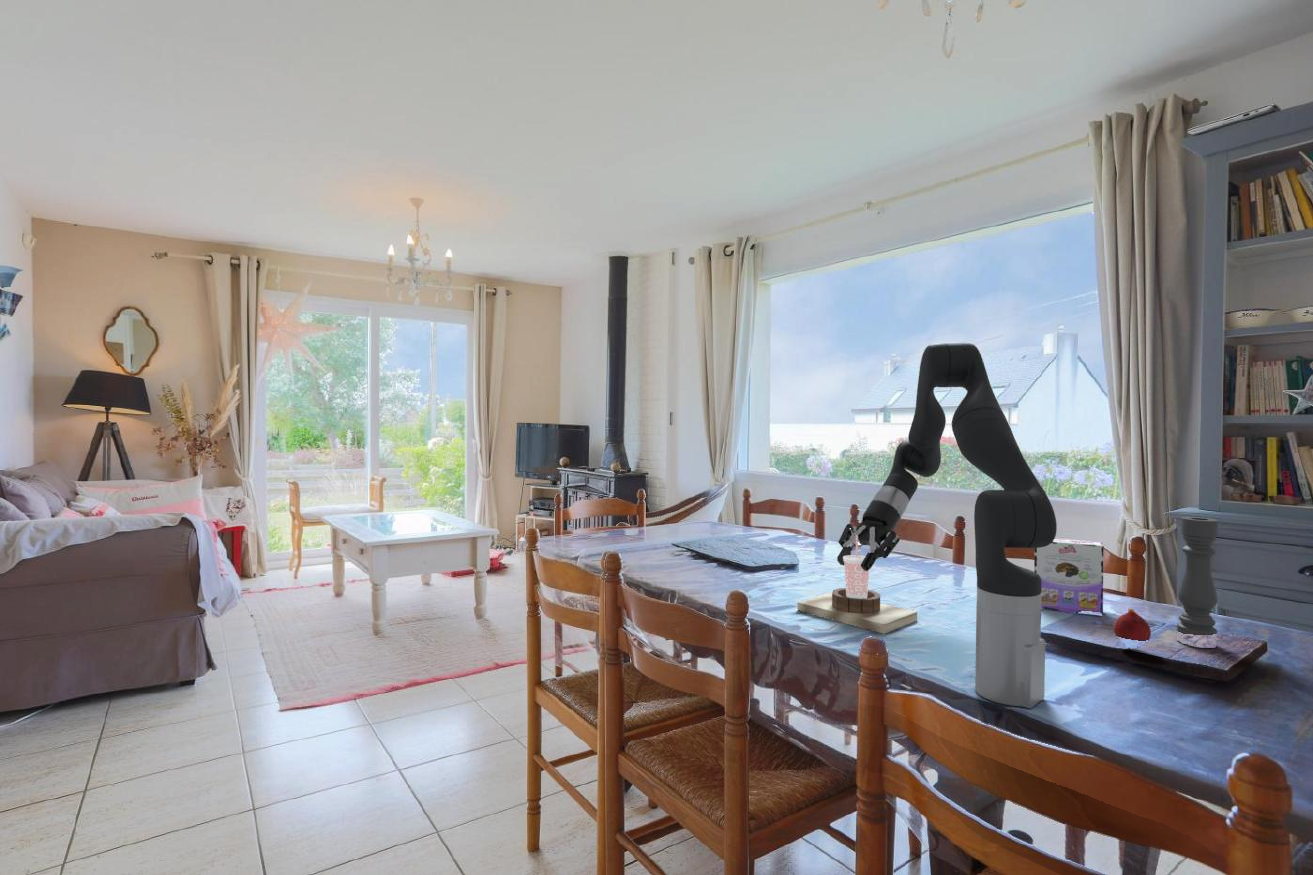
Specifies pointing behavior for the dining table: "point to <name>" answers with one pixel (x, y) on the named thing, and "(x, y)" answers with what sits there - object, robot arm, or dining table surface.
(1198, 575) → the candle holder
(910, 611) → the cup stand
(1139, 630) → the onion
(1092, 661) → the dining table surface
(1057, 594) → the candy box
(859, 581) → the beverage cup
